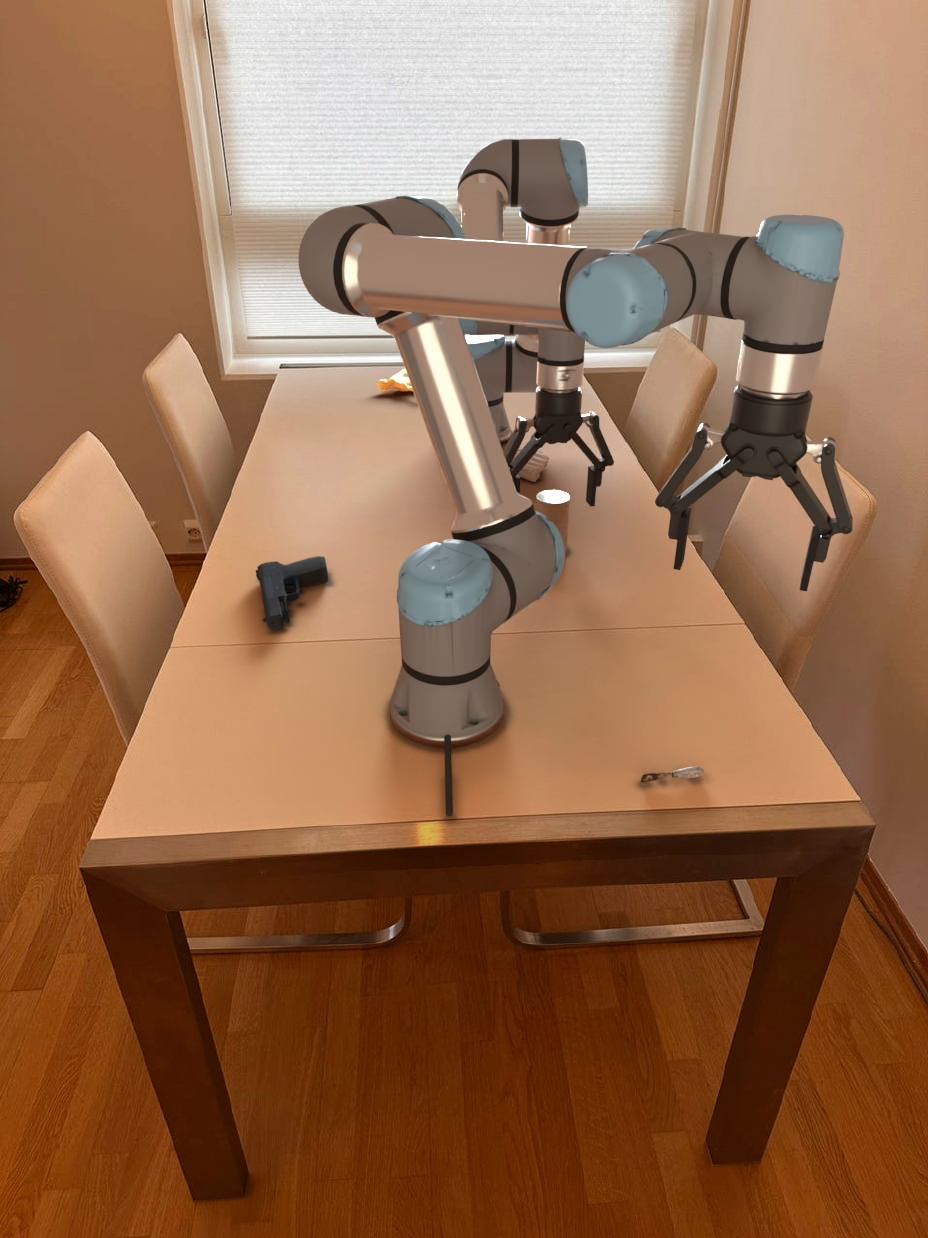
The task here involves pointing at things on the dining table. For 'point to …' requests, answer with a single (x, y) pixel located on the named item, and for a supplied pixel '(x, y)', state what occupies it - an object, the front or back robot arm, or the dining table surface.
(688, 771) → the putty knife
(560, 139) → the back robot arm
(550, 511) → the canister
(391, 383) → the orange white flat wedge
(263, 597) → the handgun
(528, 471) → the beige ridged slab
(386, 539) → the dining table surface
